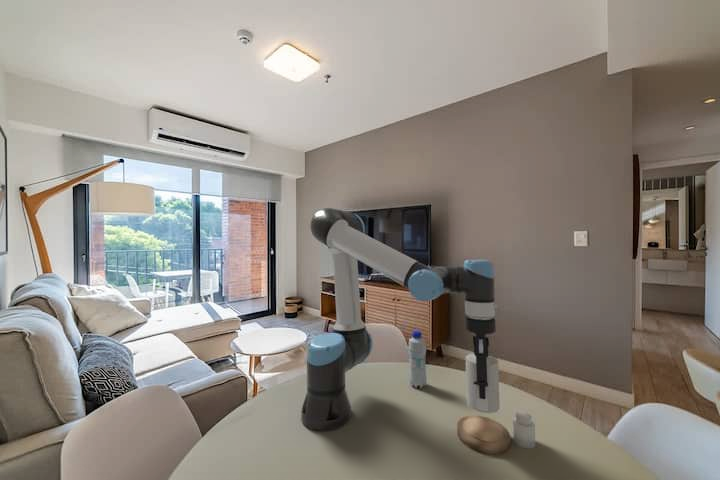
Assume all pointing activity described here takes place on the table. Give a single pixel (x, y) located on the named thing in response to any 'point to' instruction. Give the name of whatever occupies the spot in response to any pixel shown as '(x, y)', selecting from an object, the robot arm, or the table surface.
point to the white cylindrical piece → (491, 380)
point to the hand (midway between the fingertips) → (482, 401)
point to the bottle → (417, 360)
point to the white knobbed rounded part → (524, 430)
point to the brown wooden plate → (483, 434)
